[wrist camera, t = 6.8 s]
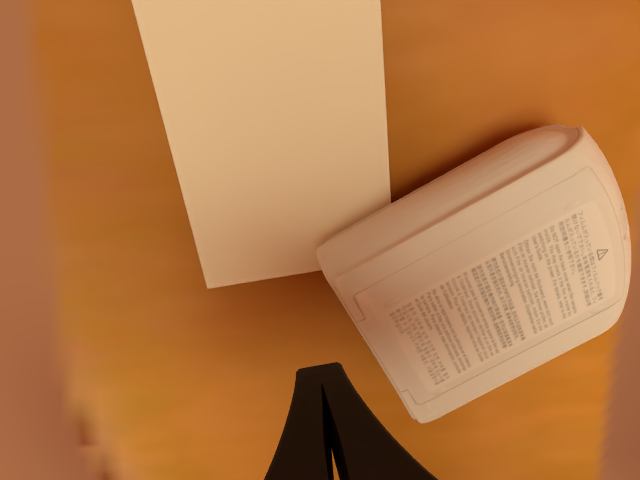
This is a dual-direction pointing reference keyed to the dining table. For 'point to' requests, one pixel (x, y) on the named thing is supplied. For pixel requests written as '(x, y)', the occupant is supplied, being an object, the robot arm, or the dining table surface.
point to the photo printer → (487, 268)
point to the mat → (270, 125)
